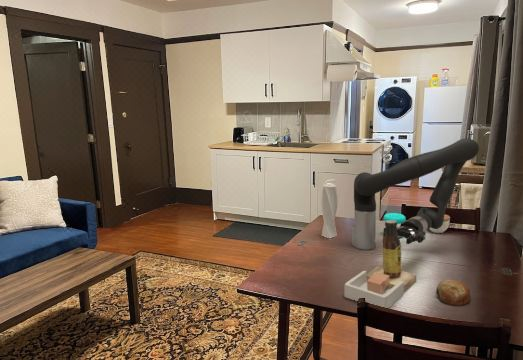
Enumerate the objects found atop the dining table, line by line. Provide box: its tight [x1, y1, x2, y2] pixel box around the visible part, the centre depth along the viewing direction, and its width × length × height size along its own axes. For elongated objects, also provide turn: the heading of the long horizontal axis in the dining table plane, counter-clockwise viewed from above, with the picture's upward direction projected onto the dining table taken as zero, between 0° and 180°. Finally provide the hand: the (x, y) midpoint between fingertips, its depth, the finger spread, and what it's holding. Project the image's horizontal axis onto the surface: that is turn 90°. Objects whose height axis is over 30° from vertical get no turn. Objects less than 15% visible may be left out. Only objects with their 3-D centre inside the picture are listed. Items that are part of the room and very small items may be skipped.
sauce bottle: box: [382, 220, 402, 277], centre depth 137 cm, size 6×6×20 cm
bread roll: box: [435, 279, 471, 306], centre depth 126 cm, size 10×10×8 cm
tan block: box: [372, 273, 389, 289], centre depth 132 cm, size 4×4×3 cm
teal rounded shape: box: [382, 212, 407, 233], centre depth 186 cm, size 10×10×10 cm
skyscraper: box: [320, 178, 338, 238], centre depth 185 cm, size 8×7×28 cm
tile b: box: [367, 277, 384, 295], centre depth 130 cm, size 4×4×3 cm
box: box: [343, 270, 404, 309], centre depth 130 cm, size 15×14×4 cm
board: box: [367, 264, 417, 294], centre depth 139 cm, size 14×12×2 cm
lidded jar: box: [429, 213, 451, 234], centre depth 190 cm, size 11×11×9 cm
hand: (395, 238), depth 140 cm, fingers open, 8 cm apart
